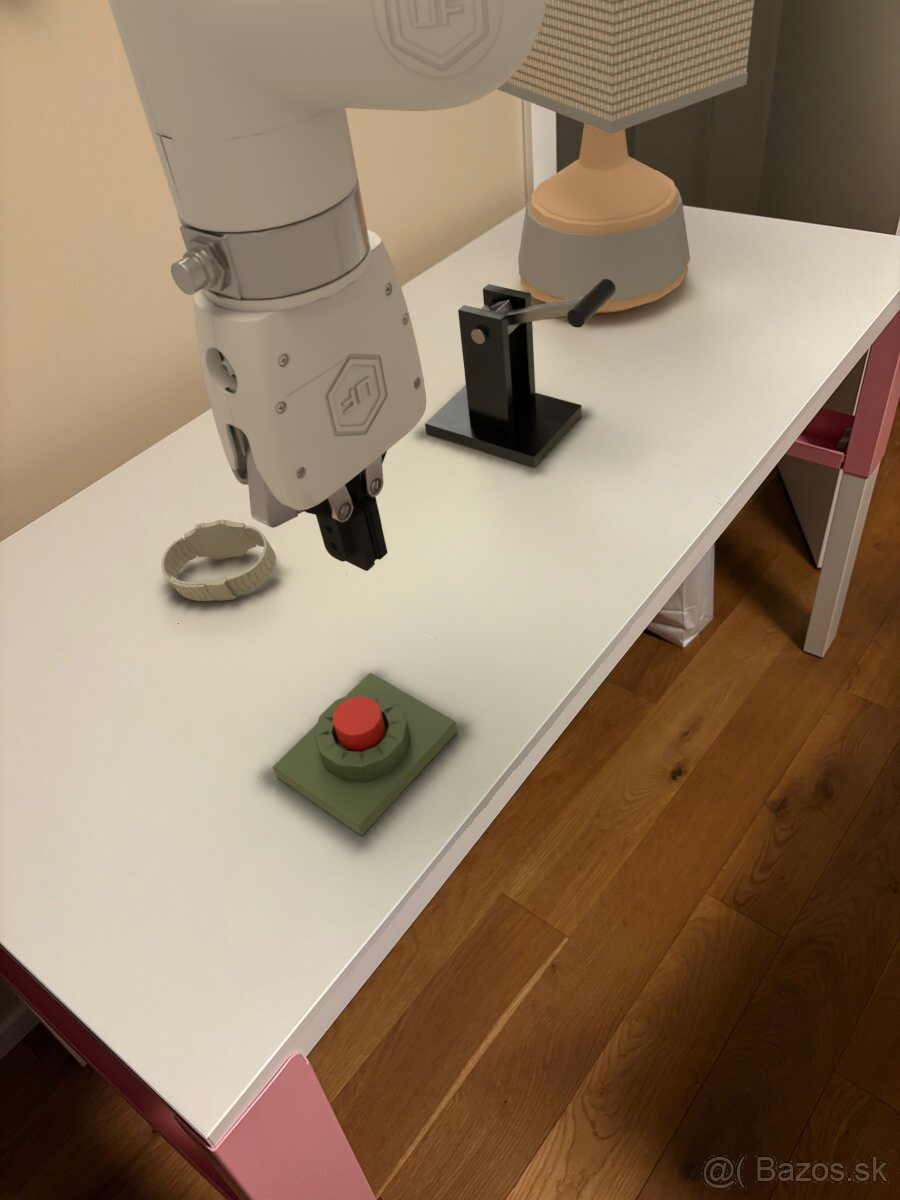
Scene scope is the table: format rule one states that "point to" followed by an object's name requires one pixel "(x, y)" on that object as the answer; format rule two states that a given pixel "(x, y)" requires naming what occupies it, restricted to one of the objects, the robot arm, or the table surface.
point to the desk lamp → (620, 138)
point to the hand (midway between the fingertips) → (357, 553)
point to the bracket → (501, 389)
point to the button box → (366, 756)
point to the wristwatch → (219, 544)
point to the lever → (558, 307)
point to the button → (359, 723)
